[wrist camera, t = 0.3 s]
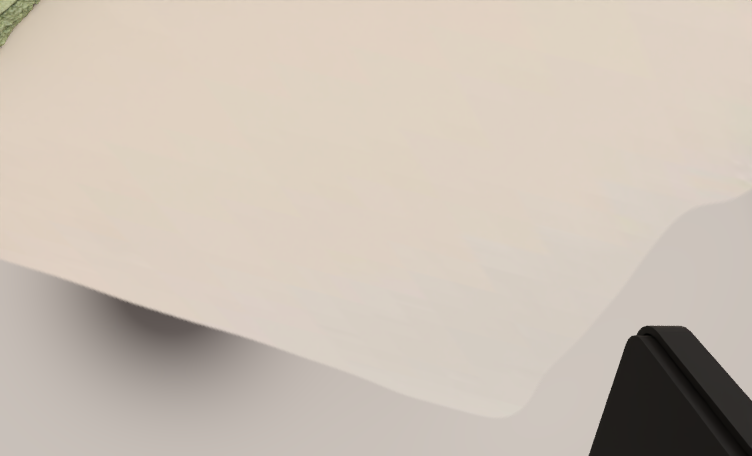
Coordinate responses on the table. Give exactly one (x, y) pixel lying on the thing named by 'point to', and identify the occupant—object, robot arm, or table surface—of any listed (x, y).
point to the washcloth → (13, 15)
